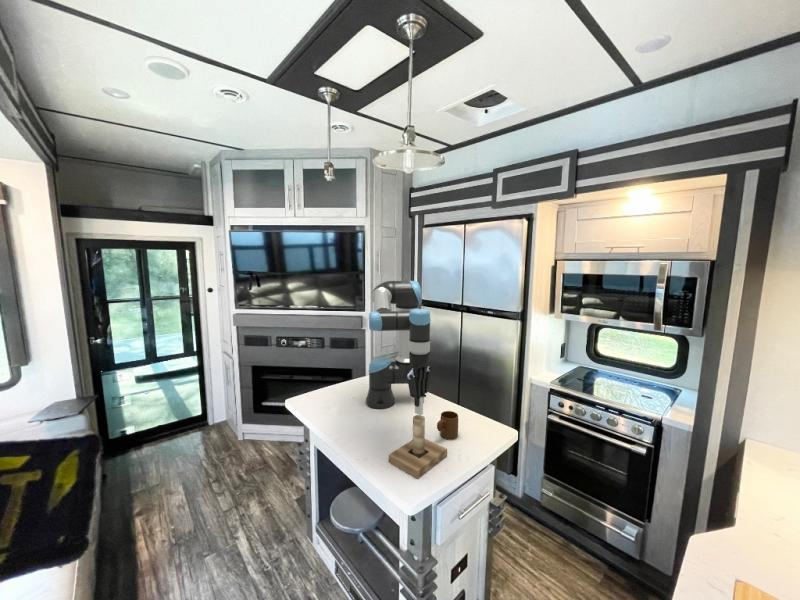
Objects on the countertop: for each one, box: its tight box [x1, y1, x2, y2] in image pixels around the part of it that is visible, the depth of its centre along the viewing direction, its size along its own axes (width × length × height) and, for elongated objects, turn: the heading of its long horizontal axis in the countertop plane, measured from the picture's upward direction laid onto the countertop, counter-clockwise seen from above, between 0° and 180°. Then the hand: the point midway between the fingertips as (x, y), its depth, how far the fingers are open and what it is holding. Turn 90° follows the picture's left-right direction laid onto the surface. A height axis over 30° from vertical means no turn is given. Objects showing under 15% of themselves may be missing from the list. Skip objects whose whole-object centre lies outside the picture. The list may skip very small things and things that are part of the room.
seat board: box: [388, 438, 448, 480], centre depth 124 cm, size 18×14×3 cm
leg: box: [412, 414, 426, 458], centre depth 124 cm, size 5×5×16 cm
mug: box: [436, 410, 459, 441], centre depth 139 cm, size 12×8×9 cm, turn 136°
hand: (418, 413), depth 122 cm, fingers closed
